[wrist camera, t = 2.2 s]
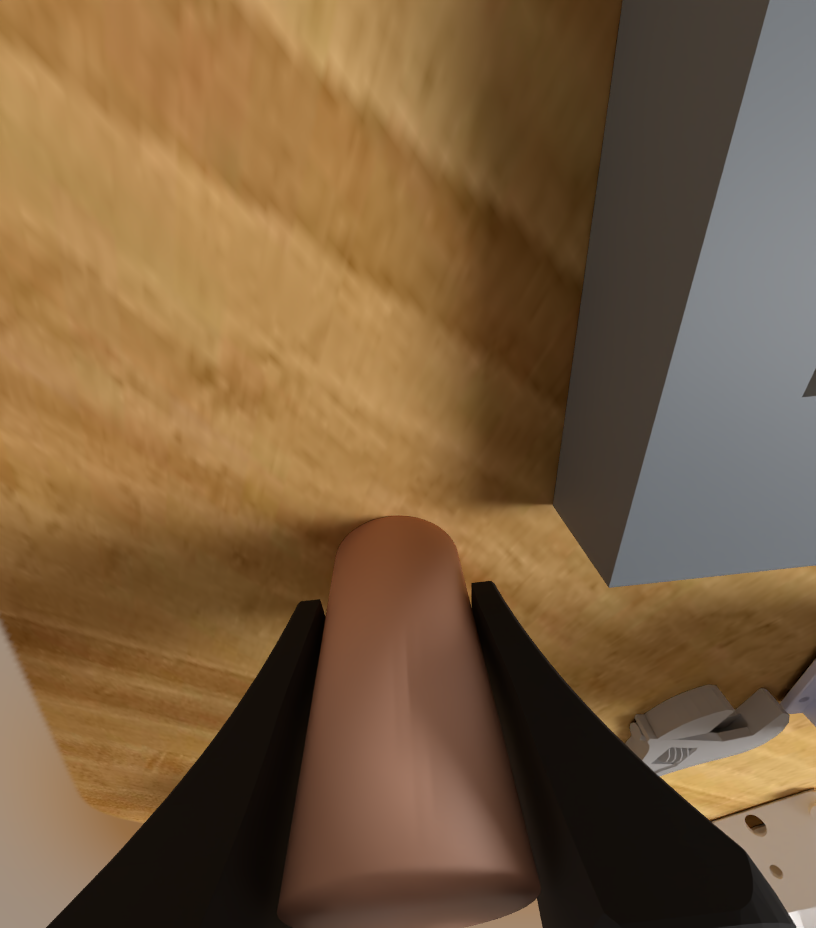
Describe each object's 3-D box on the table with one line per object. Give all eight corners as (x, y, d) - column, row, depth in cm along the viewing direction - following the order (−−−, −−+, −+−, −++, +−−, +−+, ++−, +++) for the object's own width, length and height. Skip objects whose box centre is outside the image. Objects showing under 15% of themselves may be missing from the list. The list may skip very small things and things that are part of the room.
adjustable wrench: (474, 835, 30) (479, 867, 28) (413, 822, 27) (415, 855, 26) (774, 696, 20) (805, 732, 19) (717, 659, 18) (748, 696, 17)
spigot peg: (459, 599, 14) (530, 921, 7) (346, 611, 14) (311, 946, 7) (457, 509, 12) (555, 849, 5) (323, 523, 12) (239, 885, 5)
